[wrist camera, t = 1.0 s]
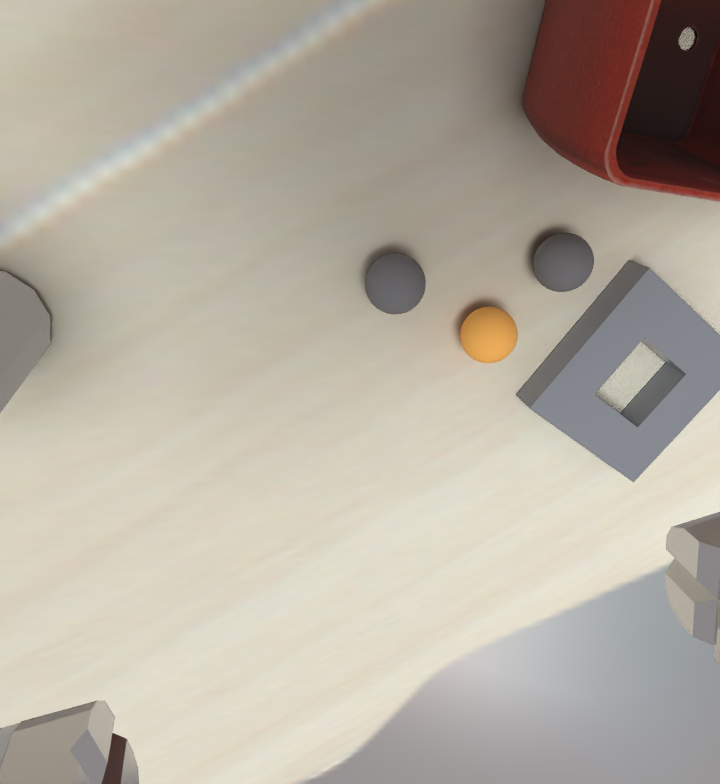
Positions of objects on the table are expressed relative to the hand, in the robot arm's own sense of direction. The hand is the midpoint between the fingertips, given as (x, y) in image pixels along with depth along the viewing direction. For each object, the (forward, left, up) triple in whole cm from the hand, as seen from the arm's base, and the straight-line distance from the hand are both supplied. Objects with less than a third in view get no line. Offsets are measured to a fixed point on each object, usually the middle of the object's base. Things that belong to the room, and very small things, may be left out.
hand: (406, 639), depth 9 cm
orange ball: (-3, +17, -33) cm, 37 cm away
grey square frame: (-7, +30, -35) cm, 47 cm away
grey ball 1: (-2, +9, -33) cm, 34 cm away
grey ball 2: (-10, +18, -33) cm, 39 cm away
